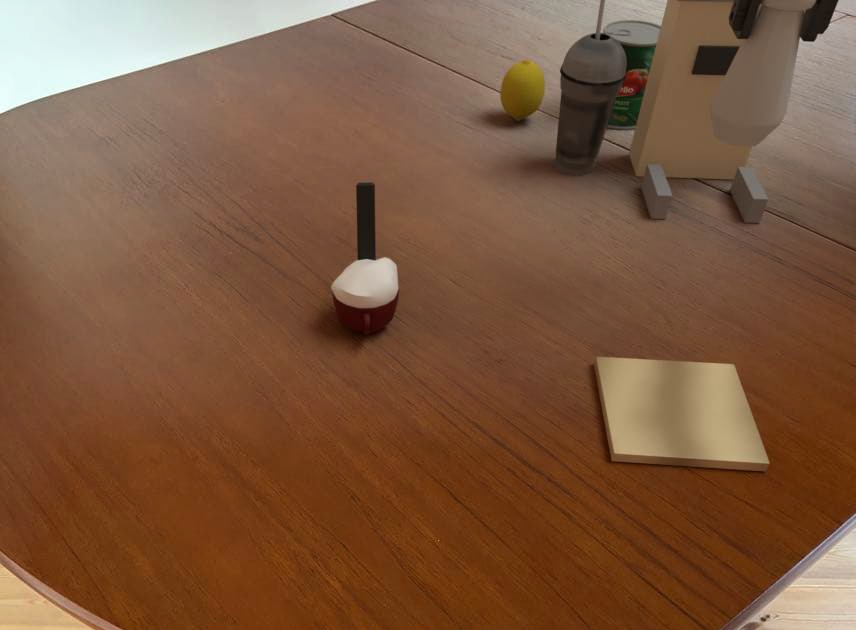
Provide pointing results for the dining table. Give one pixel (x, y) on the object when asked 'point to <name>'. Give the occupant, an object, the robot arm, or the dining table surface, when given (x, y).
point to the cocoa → (366, 275)
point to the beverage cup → (587, 98)
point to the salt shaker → (760, 75)
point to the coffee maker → (690, 110)
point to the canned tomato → (632, 68)
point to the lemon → (522, 89)
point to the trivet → (678, 414)
